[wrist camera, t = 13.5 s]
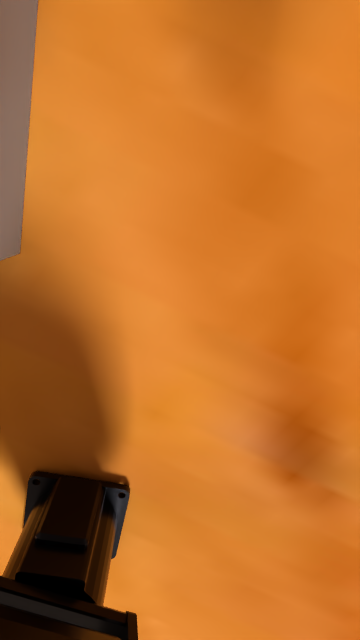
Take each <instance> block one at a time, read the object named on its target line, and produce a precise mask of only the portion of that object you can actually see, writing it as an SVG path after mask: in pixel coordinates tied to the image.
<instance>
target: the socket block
mask: <svg viewBox="0 0 360 640" xmlns="http://www.w3.org/2000/svg"><path fill="white" fill-rule="evenodd" d="M37 8H38V0H0V261H1V260H3V259H6V258H9V257H12V256H14V255H17V254H20V246H21V232H22V218H23V204H24V190H25V176H26V162H27V148H28V134H29V120H30V106H31V92H32V78H33V64H34V50H35V36H36V22H37Z"/></svg>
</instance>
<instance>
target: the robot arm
mask: <svg viewBox="0 0 360 640" xmlns="http://www.w3.org/2000/svg"><path fill="white" fill-rule="evenodd" d="M36 479H38V480H36ZM120 492H123V493H120ZM129 495H130V488H129V487H128V486H126V485H123V484H116V483H110V482H104V481H97V480H91V479H85V478H78V477H72V476H65V475H59V474H53V473H46V472H40V471H36V472H33V473H32V474H31V476H30V478H29V481H28V489H27V499H26V509H25V519H24V528H23V531H22V533H21V535H20V537H19V539H18V542H17V544H16V546H15V548H14V551H13V553H12V555H11V557H10V560H9V562H8V564H7V566H6V568H5V571H4V573H3V575H2V576H0V640H138V630H137V615H136V614H135V613H132V612H129V611H126V613H124V612H121V611H118V610H114V609H111V608H108V607H104V606H103V603H104V597H105V591H106V585H107V579H108V574H109V568H110V562H111V559H113V558H114V557H115V556H116V552H117V548H118V544H119V539H120V535H121V531H122V526H123V522H124V518H125V513H126V509H127V505H128V500H129Z"/></svg>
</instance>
